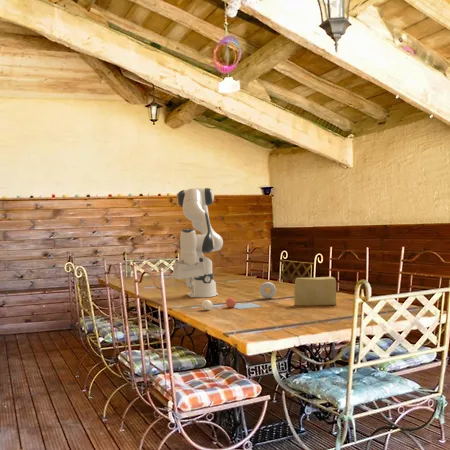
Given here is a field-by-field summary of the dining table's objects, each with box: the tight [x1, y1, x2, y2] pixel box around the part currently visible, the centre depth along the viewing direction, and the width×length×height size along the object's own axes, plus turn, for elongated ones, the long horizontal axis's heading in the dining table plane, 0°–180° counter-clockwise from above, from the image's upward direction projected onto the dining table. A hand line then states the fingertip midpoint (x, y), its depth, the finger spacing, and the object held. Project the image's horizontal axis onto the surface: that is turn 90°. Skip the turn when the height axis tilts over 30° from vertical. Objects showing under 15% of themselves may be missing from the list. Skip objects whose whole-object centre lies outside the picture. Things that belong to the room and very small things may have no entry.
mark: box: [233, 302, 263, 310], centre depth 281 cm, size 14×14×1 cm
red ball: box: [225, 297, 237, 309], centre depth 278 cm, size 6×6×6 cm
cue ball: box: [201, 299, 213, 311], centre depth 272 cm, size 6×6×6 cm
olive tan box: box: [293, 276, 337, 306], centre depth 280 cm, size 22×10×15 cm, turn 92°
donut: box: [259, 281, 277, 299], centre depth 306 cm, size 10×4×10 cm, turn 90°
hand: (189, 286), depth 268 cm, fingers closed
